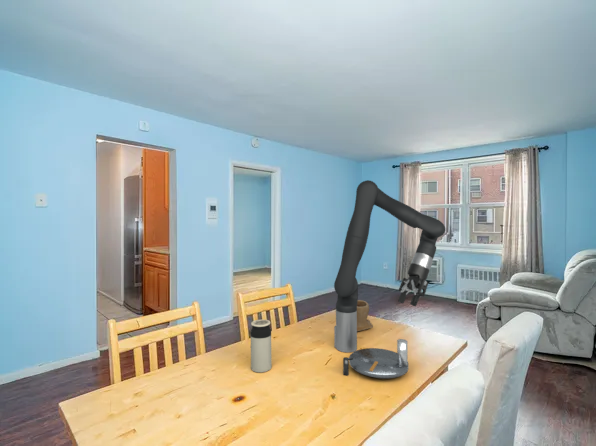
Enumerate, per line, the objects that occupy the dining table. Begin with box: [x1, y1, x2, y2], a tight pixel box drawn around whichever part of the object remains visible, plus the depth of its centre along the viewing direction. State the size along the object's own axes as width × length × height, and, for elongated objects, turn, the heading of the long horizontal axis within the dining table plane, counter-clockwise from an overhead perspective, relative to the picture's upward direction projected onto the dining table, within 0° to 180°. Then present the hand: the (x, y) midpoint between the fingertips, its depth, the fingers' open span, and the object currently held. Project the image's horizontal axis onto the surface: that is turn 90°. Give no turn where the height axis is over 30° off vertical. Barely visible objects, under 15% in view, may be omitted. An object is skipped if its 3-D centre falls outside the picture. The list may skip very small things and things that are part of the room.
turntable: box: [348, 338, 409, 379], centre depth 122 cm, size 22×22×10 cm
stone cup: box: [357, 299, 374, 332], centre depth 166 cm, size 15×12×15 cm
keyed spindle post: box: [342, 356, 353, 377], centre depth 120 cm, size 13×19×6 cm, turn 131°
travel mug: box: [250, 319, 273, 373], centre depth 124 cm, size 8×8×18 cm
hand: (406, 304), depth 125 cm, fingers open, 8 cm apart
